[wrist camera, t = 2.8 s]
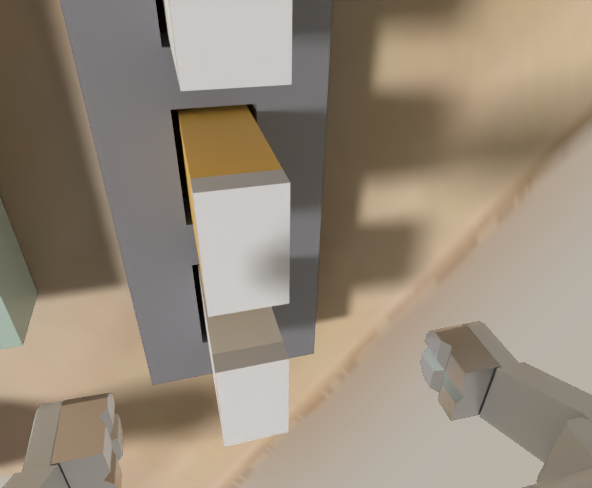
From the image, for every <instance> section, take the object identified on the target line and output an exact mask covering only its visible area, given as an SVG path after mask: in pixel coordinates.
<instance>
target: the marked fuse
mask: <svg viewBox="0 0 592 488" xmlns="http://www.w3.org/2000/svg"><path fill="white" fill-rule="evenodd" d="M177 115H178V123H179V131H180V138H181V146H182V154H183V161H184V169H185V177H186V184H187V192H188V198H189V204H190V210H191V216H192V222H193V228H194V234H195V240H196V246H197V252H198V258H199V265H200V271H201V277H202V283H203V289H204V295H205V301H206V307H207V313H208V317H212V316H218V315H224V314H230V313H236V312H241V311H247V310H253V309H259V308H265V307H271V306H277V305H283V304H289V279H290V181H289V179H288V178H287V176H286V174H285V172H284V170H283V169H282V167H281V165H280V163H279V162H278V160H277V158H276V156H275V155H274V153H273V151H272V149H271V148H270V146H269V144H268V142H267V141H266V139H265V137H264V135H263V133H262V132H261V130H260V128H259V126H258V125H257V123H256V121H255V119H254V118H253V116H252V114H251V112H250V111H249V109H248V107H247V105H231V106H217V107H202V108H187V109H177Z"/></svg>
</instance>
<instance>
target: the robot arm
mask: <svg viewBox="0 0 592 488" xmlns="http://www.w3.org/2000/svg"><path fill="white" fill-rule="evenodd" d="M425 343H426V344H427V345H428V347H427V348H426V349H425V350H424V352H423V353H422V356H421V362H420V363H421V369H422V373H423V376H424V378H425V381H426V382H427V384H428V385H429V387H430V388H432V389H434V390H435V391H437V392H439V395H438V401H439V403H440V405H441V406H442V407H443V409H444V411H445V412H446V414H447V416H448V417H449V419H450V420H451V421H452V420H457V419H462V418H466V417H471V416H476V415H480V417H481V418H482V419H484V420H485V421H487V422H488V423H489V424H491V425H492V426H494V427H495V428H496V429H498V430H499V431H501V432H502V433H503V434H505V435H506V436H508V437H509V438H510V439H512V440H513V441H515V442H516V443H518V444H519V445H520V446H522V447H523V448H524V449H526V450H527V451H529V452H530V453H531V454H533V455H534V456H536V457H537V458H538V459H540V460H541V461H543V462H544V463H545V464H544V466H543V468H542V469H541V471H540V473H539V475H538V478H537V484H534V485H530V486H527V487H523V488H592V395H590V394H588V393H586V392H584V391H582V390H580V389H578V388H576V387H574V386H572V385H570V384H568V383H565V382H564V381H561V380H559V379H558V378H555V377H553V376H551V375H549V374H547V373H545V372H543V371H541V370H539V369H537V368H535V367H533V366H531V365H529V364H527V363H525V362H522V363H519V362H518V361H517V360H516V359H515V358H514V357H513V356H512V354H511V353H510V352H509V351H508V350H507V349H506V348H505V347H504V345H503V344H502V343H501V342H500V341H499V340H498V339H497V338H496V336H495V335H494V334H493V333H492V332H491V331H490V330H489V328H488V327H487V326H486V325H485V324H484V323H482V322H480V321H477V322H472V323H467V324H463V325H456V326H451V327H446V328H442V329H436V330H431V331H429V332H428V333H427V334H426V338H425ZM114 408H115V401H114V398H113V396H112V393H105V394H99V395H93V396H87V397H81V398H75V399H69V400H64V401H59V402H53V403H47V404H41V405H40V406H39V408H38V409H37V411H36V414H35V418H34V422H33V427H32V431H31V435H30V439H29V444H28V448H27V452H26V456H25V461H24V465H23V469H22V472H20V473H16V474H14V475H13V476H12V477H11V478H10V479H9V481H8V482H7V483H6V484H5V485H4V486H3V488H121V480H122V472H121V469H120V466H119V462H118V461H119V459H120V458H121V457H122V455H123V435H122V426H121V421H120V418H119V415H118V414H117V413H115V412H114Z"/></svg>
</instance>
